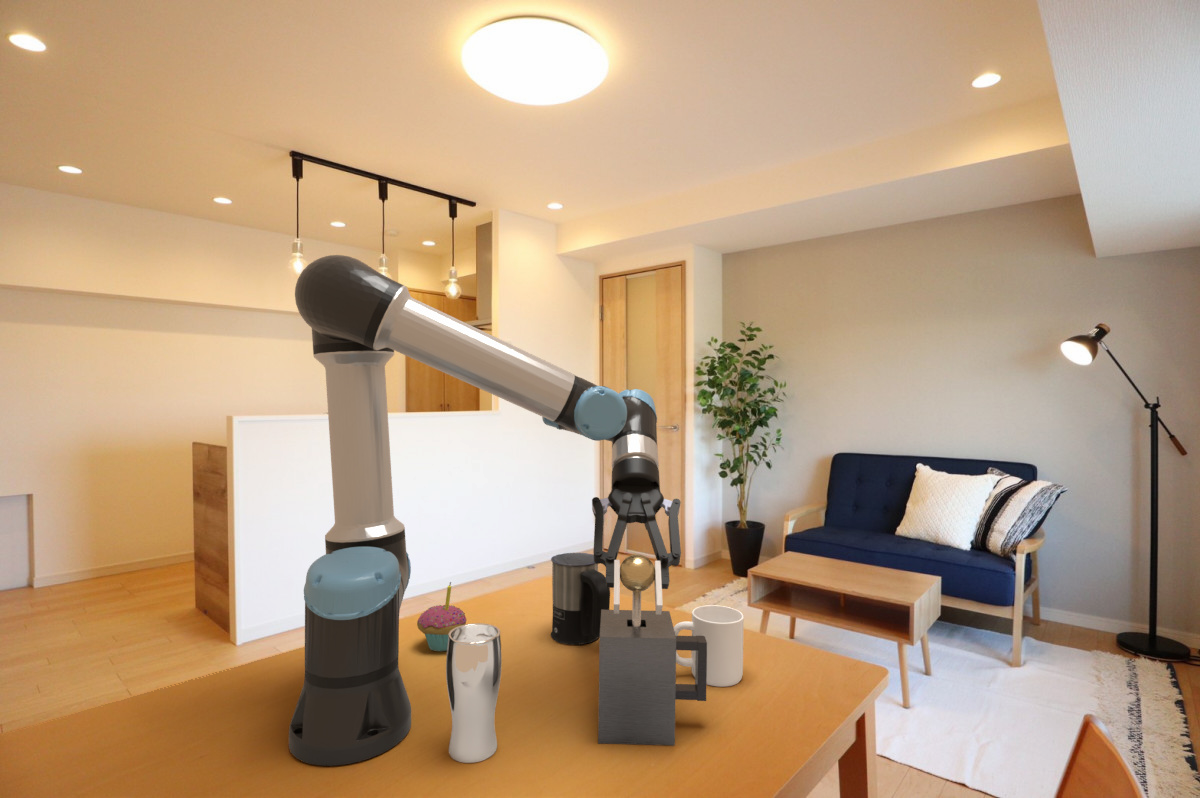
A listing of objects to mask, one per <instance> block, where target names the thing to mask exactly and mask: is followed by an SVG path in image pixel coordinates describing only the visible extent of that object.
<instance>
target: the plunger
mask: <svg viewBox="0 0 1200 798" xmlns="http://www.w3.org/2000/svg"><path fill="white" fill-rule="evenodd" d="M654 565H655V564H653V562H652V560H651V559H649V558H648V557H647V556H645V555H643V554H639V553H637V554H636V553H635V554H631V555H629V556H626V557H625V558H624V559H623V560H622V562H621V563H620V583H621V584H622V585H623V586H624V587H625V588H626V589H627V590H629V591H632V604H631V605H632V608H631V610H632V627H641V610H642V592H644V591H647V590H648V589H649V588H651V586H652V585H653V583H654V579H655V568H654Z"/></svg>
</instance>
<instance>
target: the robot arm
mask: <svg viewBox="0 0 1200 798" xmlns="http://www.w3.org/2000/svg"><path fill="white" fill-rule="evenodd" d="M294 298H295V299H294V300H295V304H296V308H297V311H298V312H299V315H300V316H301V318H302V319H303V321H304V322H305V323H306V324H307V325H308V326H309V327H310V328H311V337H312V338H311V339H312V353H313V358H314V359H315V360H316V361H317V362H319V363H320V364H321V365H322V366H323V367H324V369H325V382H326V385H325V386H326V398H327V415H328V433H329V434H328V435H329V446H330V447H329V448H330V461H331V463H330V465H331V477H332V478H331V480H332V481H331V482H332V492H333V493H332V498H333V508H334V509H333V511H334V524H333V526H332V527H331V528H330V529H329V530H328V532H326V533H325V535H324V540H325V541H324V542H325V553H324V554H323V555H322V556H320V557H318V558H317V559H316V560H315V561H313V562H312V563H311V565H309V568H308V569H307V572H306V577H305V583H304V587H303V600H304V681H303V686H302V688H301V691H300V695H299V697H298V700H297V703H296V706H295V709H294V711H293V714H292V718H291V721H290V724H289V726H288V727H289V728H288V749H290V750H289V752H290V751H291V752H290V754H291V753H292V754H293V755H294V756H295V757H296V759H297V758H298V759H299V761H300V760H302V761H301V762H303V763H305V762H306V763H305V764H309V765H313V766H314V765H315V764H316V765H315V766H323V767H324V766H325V767H326V765H327V767H328V766H330V767H331V766H332V767H333V766H342V765H349V764H355V763H358V762H361V761H365V760H369V759H371V757H372V758H374V757H376V755H377V756H378V755H381V754H383V753H385V752H387V751H388V750H392V748H394V747H395V746H396V745H398V744H399V743H400V742H402V740H403V739H404V738H406V736H407V735H408V733H409V732H410V729H411V726H412V705H411V701H410V699H409V694H408V692H407V688H406V685H405V683H404V681H403V678H402V675H401V672H400V669H399V668H400V667H399V648H400V645H399V644H400V643H399V638H400V637H399V636H400V630H399V629H400V610H401V606H402V604H403V599H404V595H405V592H406V590H407V588H408V585H409V583H410V579H411V571H412V568H411V567H412V566H411V560H410V557H409V554H408V551H407V544H406V543H407V542H406V541H407V540H406V528H405V524H404V523H402V522H401V521H400V520H399V519H398V518H396V516H395V511H394V497H393V496H394V495H393V479H392V478H393V477H392V463H391V462H392V461H391V446H390V429H389V427H390V426H389V414H388V395H387V382H386V381H387V380H386V379H387V378H386V365H387V363H388V362H389V361H390V360H391V359H392V358H393V357H394V356H395V352H397V353H399V354H402V355H403V356H406V357H409V358H410V359H413V360H415V361H417V362H419V363H422V364H424V365H426V366H428V367H430V368H433V369H435V370H437V371H440V372H442V373H443V374H446V375H448V376H451V377H453V378H455V379H457V380H459V381H462V382H464V383H467V384H469V385H471V386H473V387H475V388H478V389H480V390H482V391H484V392H487V393H488V394H491V395H493V396H496V397H497V398H500V399H503V400H504V401H507V402H509V403H512V404H513V405H515V406H518V407H519V408H522V409H525V410H527V411H529V412H531V413H533V414H536V415H538V416H540V417H541V418H542V422H543V423H544V425H546V426H549V427H552V428H555V429H557V430H561V431H567V432H571V433H573V434H574V433H575V434H577V435H580V436H583V437H585V438H586V439H587V438H588V439H590V440H592V441H598V442H599V441H608V442H611V469H612V470H611V491H610V492H609V494H608V497H604V498H599V496H598V497H596V496H595V497H593V498H592V499H591V509H592V514H593V515H594V531H593V532H594V535H593V552H592V553H593V555H594V562H595V563H596V564H598V565H599V564H601V565H603V566H604V567H605V577H606V586H607V588H611V589H613V610H614V614H619V610H620V606H621V605H620V604H621V603H620V601H621V600H620V596H621V595H620V594H621V593H620V590H621V589H620V587H621V584H620V583H621V580H620V566H621V563H620V562H621V560H620V559H617V558H618V555H619V551H620V548H621V545H622V542H623V538H624V534H625V530H626V529H627V526H628V524H634V523H638V524H643V525H644V527H645V530H646V531H647V534H648V538H649V540H650V544H651V545H652V549H653V553H654V555H655V559H656V560H654V564H653V565H654V568H655V579H654V581H653V583H654V584H653V585H654V601H655V607H654V608H655V611H656V615H661V613H662V611H663V605H664V604H663V603H664V602H663V590H668V589H669V586H670V567H671V566H675V567H676V566H679V565H680V564H681V562H680V561H681V557H682V548H681V538H680V537H681V536H680V535H681V534H680V525H679V513H680V509H681V503H682V502H681V500H680V499H679V498H673V500H669V499H666V498H664V495H663V493H662V492H661V486H660V485H661V482H660V470H659V466H660V465H659V449H658V435H657V434H658V433H657V432H658V431H657V428H658V427H657V423H658V417H657V416H658V415H657V411H656V406H655V405H656V404H655V402H654V399H653V397H652V396H651V394H649V393H648V392H646V391H645V390H642V389H638V388H634V389H625V390H622V391H620V392H617V391H616V390H614V389H612V388H610V387H608V386H603V385H597V384H595V383H593V382H591V381H589V380H586V379H584V378H582V377H579V376H578V375H576V374H574V373H572V372H571V371H570V372H569V371H567V370H566V369H564V368H561V367H559V366H557V365H556V364H553V363H551V362H548V361H546V360H545V359H542V358H540V357H538V356H536V355H534V354H532V353H529V352H528V351H526V350H523V349H521V348H519V347H517V346H516V345H513V344H511V343H509V342H507V341H505V340H502V339H500V338H498V337H496V336H493V335H492V334H489V333H488V332H485V331H483V330H482V329H479V328H477V327H475V326H473V325H471V324H468V323H466V322H465V321H462V320H460V319H458V318H456V317H454V316H452V315H450V314H448V313H446V312H443V311H442V310H439V309H437V308H436V307H432V306H431V305H428V304H427V303H424V302H422V301H420V300H418V299H416V298H414V297H412V296H411V294H410V291H409V289H408V287H407V286H406V285H404V284H402V283H400V282H398V281H395V280H394V279H391V278H390V277H388V276H386V275H384V274H382V273H381V272H379V271H377V270H376V269H374V268H372V267H371V266H369V265H368V264H366V263H365V262H363V261H361V260H359V259H357V258H355V257H352V256H347V255H342V254H335V255H334V254H333V255H332V254H331V255H324V256H322V257H320V258H318V259H315V260H313V261H312V262H310V263H308V265H306V266H305V268H304V269H303V270H302V271H301V273H300V275H299V277H297V281H296V284H295V288H294ZM608 507H610V508H611V509H612V510H613V512H614V513H615V514H616V515H617V519H616V522H615V526H614V530H613V532H612V536H611V539H610V542H609V546H608V548H607V551H605V550H604V551H603V549H604V547H603V543H604V519H605V518H604V515H605V514H607V512H608ZM661 509H664V513H665V515H666V516H667V517H668V520H667V521H668V522H667V523H668V537H669V538H668V539H669V551H670V552H668V551H667V548H666V546H665V542H664V539H663V537H662V534H661V531H660V528H659V524H658V521H657V519H656V514H657V513H658V512H659V511H660V510H661ZM292 754H291V755H292ZM293 755H292V756H293ZM294 756H293V757H294ZM295 757H294V758H295ZM298 759H297V760H298Z"/></svg>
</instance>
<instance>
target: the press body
mask: <svg viewBox="0 0 1200 798" xmlns="http://www.w3.org/2000/svg"><path fill="white" fill-rule="evenodd" d="M598 646H599V653H598V654H599V656H598V658H599V659H598V660H599V661H598V662H599V663H598V721H597V722H598V725H597V726H598V730H597V731H598V735H597V736H598V737H597V741H598V742H597V744H603V745H605V744H607V745H611V744H612V745H639V746H640V745H643V746H647V745H648V746H650V745H651V746H675V745H676V743H675V742H676V741H675V740H676V701H677V700H679V701H697V702H707V684H706V680H707V641H706V639H705V636H692V635H678V636H676V635H675V631H674V624H673V621H672V617H671V612H670V610H662V613H661V615H656V610H642V609H641V627H632V609H630V610H629V609H627V610H626V609H619V614H614V609H609V610H601V623H600V637H599V645H598ZM676 650H677V651H691V650H692V651H696V660H695V677H694V684H693V683H689V684H688V683H676V681H677V680H676V679H677V663H676Z"/></svg>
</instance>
